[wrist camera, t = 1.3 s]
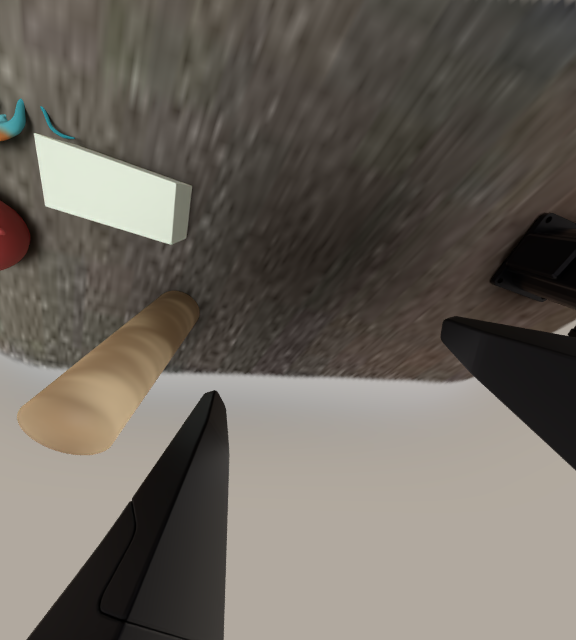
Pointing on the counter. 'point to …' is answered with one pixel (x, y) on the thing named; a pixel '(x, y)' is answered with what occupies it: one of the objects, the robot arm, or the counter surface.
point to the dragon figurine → (21, 123)
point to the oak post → (109, 380)
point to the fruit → (12, 237)
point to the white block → (112, 191)
